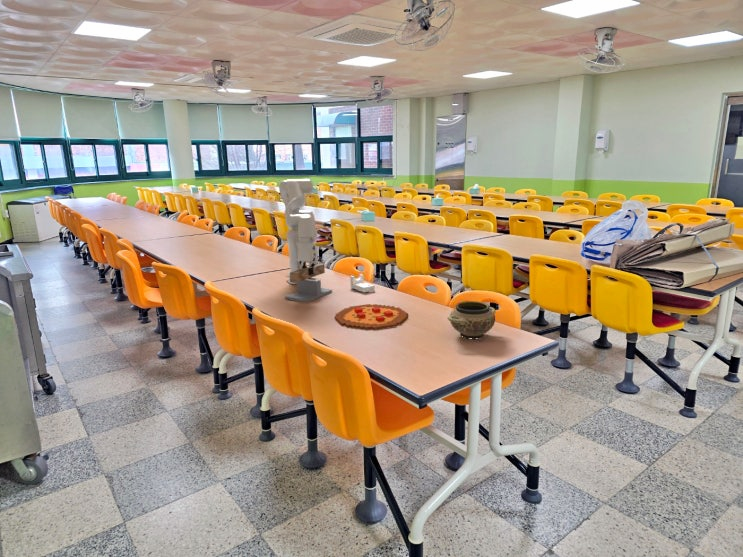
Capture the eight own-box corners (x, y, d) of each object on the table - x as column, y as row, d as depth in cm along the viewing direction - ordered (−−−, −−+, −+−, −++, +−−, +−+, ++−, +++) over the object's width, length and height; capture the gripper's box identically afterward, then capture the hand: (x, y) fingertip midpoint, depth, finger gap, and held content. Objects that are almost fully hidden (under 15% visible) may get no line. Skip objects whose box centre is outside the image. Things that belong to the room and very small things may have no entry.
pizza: (389, 304, 242) (389, 298, 241) (418, 324, 213) (418, 317, 212) (328, 312, 230) (327, 306, 230) (349, 334, 201) (349, 327, 201)
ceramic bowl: (482, 331, 209) (477, 297, 208) (513, 333, 193) (507, 296, 193) (437, 343, 196) (432, 307, 196) (467, 346, 181) (461, 307, 181)
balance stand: (285, 298, 252) (284, 281, 250) (311, 289, 270) (311, 272, 268) (306, 302, 245) (305, 284, 243) (332, 292, 263) (331, 275, 261)
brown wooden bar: (319, 272, 266) (319, 263, 265) (324, 272, 264) (324, 263, 263) (290, 282, 246) (289, 272, 245) (295, 282, 245) (295, 273, 243)
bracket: (350, 289, 270) (350, 275, 268) (361, 287, 274) (360, 274, 272) (363, 294, 260) (363, 280, 258) (374, 291, 264) (374, 278, 262)
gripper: (323, 240, 249) (324, 274, 254) (298, 237, 258) (300, 271, 262) (314, 242, 243) (316, 277, 248) (289, 239, 252) (291, 274, 256)
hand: (308, 274), depth 255 cm, fingers closed on brown wooden bar, 3 cm apart
